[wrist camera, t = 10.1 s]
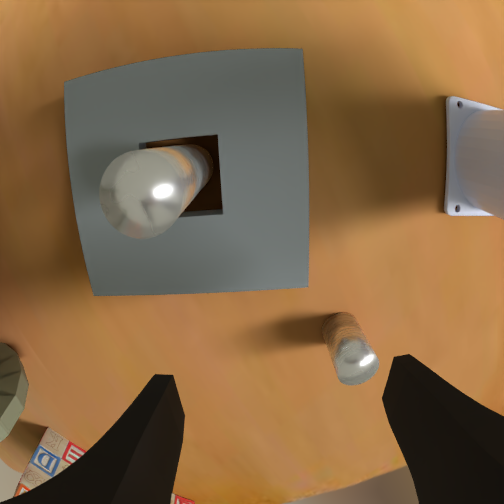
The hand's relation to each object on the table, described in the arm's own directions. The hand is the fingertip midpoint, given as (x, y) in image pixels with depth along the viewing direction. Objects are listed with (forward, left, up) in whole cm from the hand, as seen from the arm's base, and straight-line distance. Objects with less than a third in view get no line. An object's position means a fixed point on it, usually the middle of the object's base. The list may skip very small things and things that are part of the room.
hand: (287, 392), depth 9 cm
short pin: (-5, +5, -10) cm, 13 cm away
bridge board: (+4, -6, -10) cm, 13 cm away
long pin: (+4, -6, -10) cm, 13 cm away
